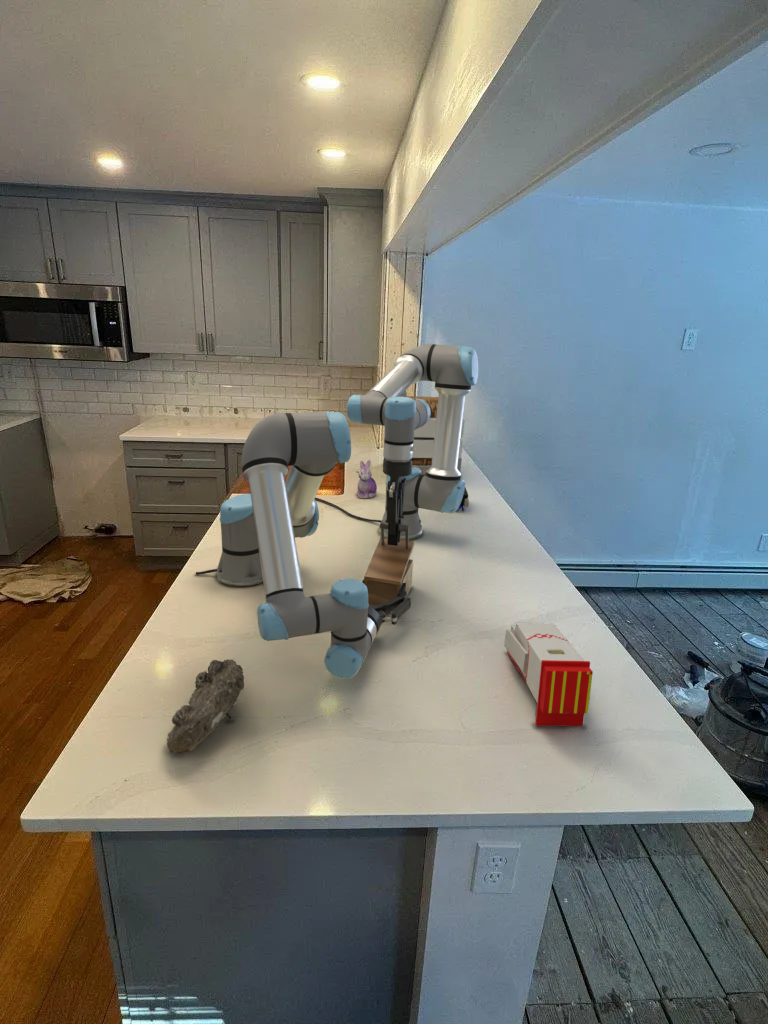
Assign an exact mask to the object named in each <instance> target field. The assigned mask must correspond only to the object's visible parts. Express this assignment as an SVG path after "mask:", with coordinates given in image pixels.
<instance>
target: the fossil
mask: <svg viewBox="0 0 768 1024" xmlns="http://www.w3.org/2000/svg"><path fill="white" fill-rule="evenodd" d="M243 670H244V669H243V667H242V665H240V664H237V662H236V661H235V660H234V659H232V658H231V659H227V658H226V659H224V660H223V661H222V660H217V659H212V660H211V661H210V663H209V665H208V666H207V671H201V672H199V673H198V674H197V675H196V676H195V680H194V684H195V685H194V687H195V689H194V690H193V693H192V694H191V697H190V698H189V700H188V704H184V705H182V706H181V707H180V709H177V710H176V711H175V713H174V715H173V716H172V718H171V723H172V724H173V727H172V730H171V731H170V732H168V734H167V738H166V741H167V742H166V745H167V749H168V750H169V751H173V752H174V753H176V754H178V753H182V752H188V751H189V752H192V751H193V750H195V748H196V747H197V746H199V744H200V743H201V742H203V741H204V740H205V739H206V738H207V737H208V736H209V735H210V734H211V733H212V732H214V730H215V729H217V727H218V726H219V724H220V722H221V721H222V720H223V719H224V718H225V716H226V717H227V719H229V720H233V717H232V715H230V714H229V710H230V709H231V708H234V706H235V704H236V703H237V702H238V699H239V697H240V695H241V693H242V691H243V690H245V689H244V688H245V675H244V671H243Z"/></svg>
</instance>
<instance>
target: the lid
mask: <svg viewBox="0 0 768 1024" xmlns="http://www.w3.org/2000/svg"><path fill="white" fill-rule="evenodd" d="M379 526H380V528H381V534H380V538H379V541H378V542H377V545H376V548H375V550H374V552H373V554H372V557H371V559H370V561H369V564H368V566H367V569H366V571H365V573H364V577H363V579H364V580H370V581H376V582H383V583H390V584H396V585H401V583H402V580H403V577H404V574H405V571H406V568H407V565H408V562H409V559H410V560H411V555H412V552H413V550H414V547H415V541H414V540H408V538H409V528H410V526H409V525H401V524H399V531H404V532H406V540H400V542H398V546H394V545H387V544H388V538H387V537H384V529H388V523H386V522H381V523H380V522H379Z"/></svg>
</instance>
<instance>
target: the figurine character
mask: <svg viewBox="0 0 768 1024" xmlns="http://www.w3.org/2000/svg"><path fill="white" fill-rule="evenodd" d="M469 505H470V500H469V492H468V490H467V488H466V486H465V490H464V494H463V498H462V501H461V503H460V506H459V508H458V509H461V511H462V512H464V511H465V508H469ZM458 509H457V510H456V511H455V512H457V511H458Z"/></svg>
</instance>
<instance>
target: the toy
mask: <svg viewBox="0 0 768 1024" xmlns="http://www.w3.org/2000/svg"><path fill="white" fill-rule="evenodd" d="M503 645H504V647H505V649H506V650H507V655H508V656H509V658H510V659H511V662H513V664H514V666H515V667H516V669H517V670H518V672H519V673H520V675H521V676H522V679H523V680H524V681H525V683H526V686H527V687H528V689H529V690H530V693H531V694H532V696H533V698H534V700H535V701H536V703H537V704H536V714H535V722H534V723H535V726H537V727H541V726H542V727H583V726H584V719H585V715H586V714H587V715H588V714H589V706H590V705H589V704H590V699H591V691H592V683H593V682H592V681H593V674H594V673H593V672H594V671H593V670H592V669H591V668H590V667H591V661H590V660H584V659H583V658H582V657H581V655H580V654H579V653H578V651H577V650H576V649H575V648H574V647H573V645H572V644H571V643H570V642H569V640H568V639H567V638H566V636H564V633H562V632H561V630H560V629H559V628H558V627H557V625H556V624H555V623H553V622H515V624H511V625H510V628H506V630H505V638H504V644H503Z"/></svg>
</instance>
